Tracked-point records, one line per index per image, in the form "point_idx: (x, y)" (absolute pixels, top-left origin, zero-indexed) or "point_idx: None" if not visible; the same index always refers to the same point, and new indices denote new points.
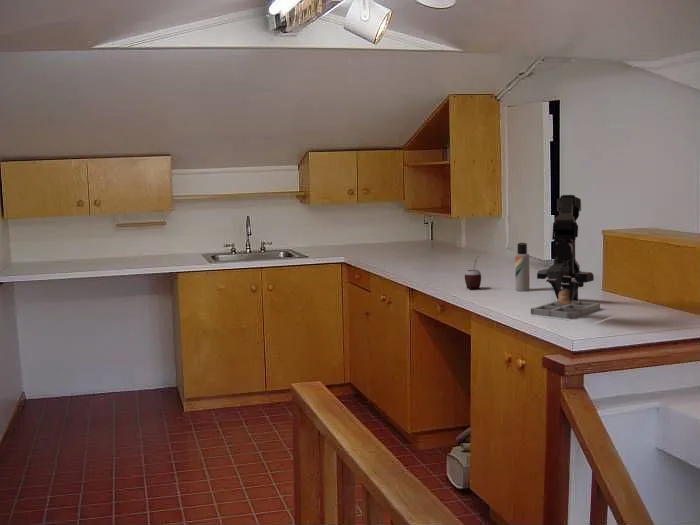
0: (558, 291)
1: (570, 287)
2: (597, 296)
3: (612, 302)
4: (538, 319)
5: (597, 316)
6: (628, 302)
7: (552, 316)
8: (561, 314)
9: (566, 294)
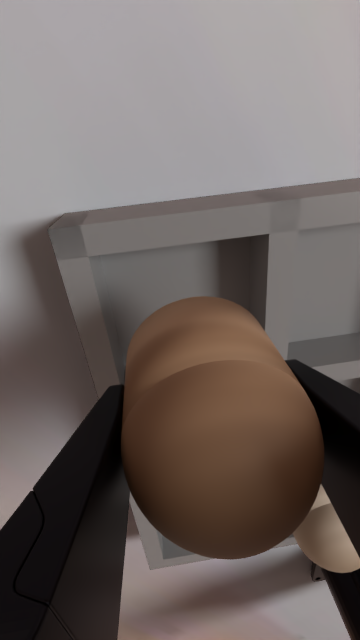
0: (343, 456)
1: (31, 600)
2: (303, 629)
3: (209, 614)
4: (326, 59)
5: (47, 438)
6: (164, 634)
7: (239, 196)
8: (147, 212)
9: (145, 416)
